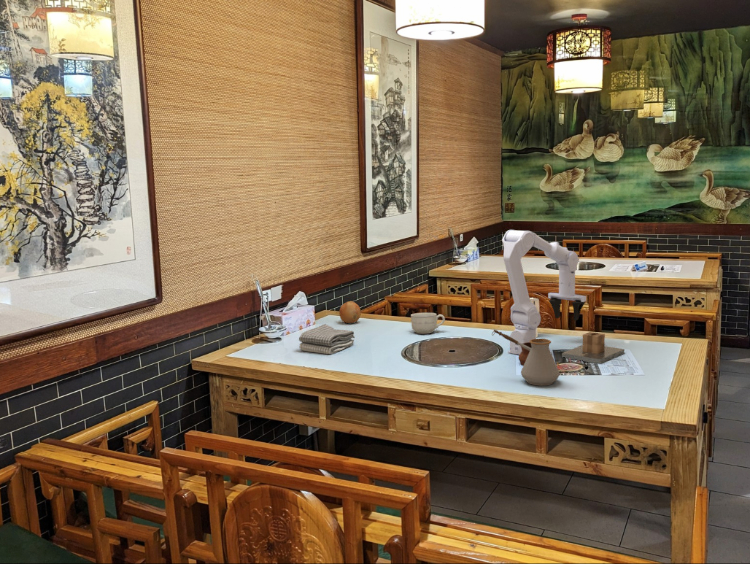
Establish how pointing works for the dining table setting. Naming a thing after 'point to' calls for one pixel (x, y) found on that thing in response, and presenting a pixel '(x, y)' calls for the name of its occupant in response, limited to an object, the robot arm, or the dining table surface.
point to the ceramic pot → (525, 353)
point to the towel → (325, 340)
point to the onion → (350, 312)
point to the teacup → (425, 322)
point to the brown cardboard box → (593, 342)
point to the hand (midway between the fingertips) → (566, 318)
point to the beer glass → (536, 303)
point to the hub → (593, 354)
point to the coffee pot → (537, 362)
